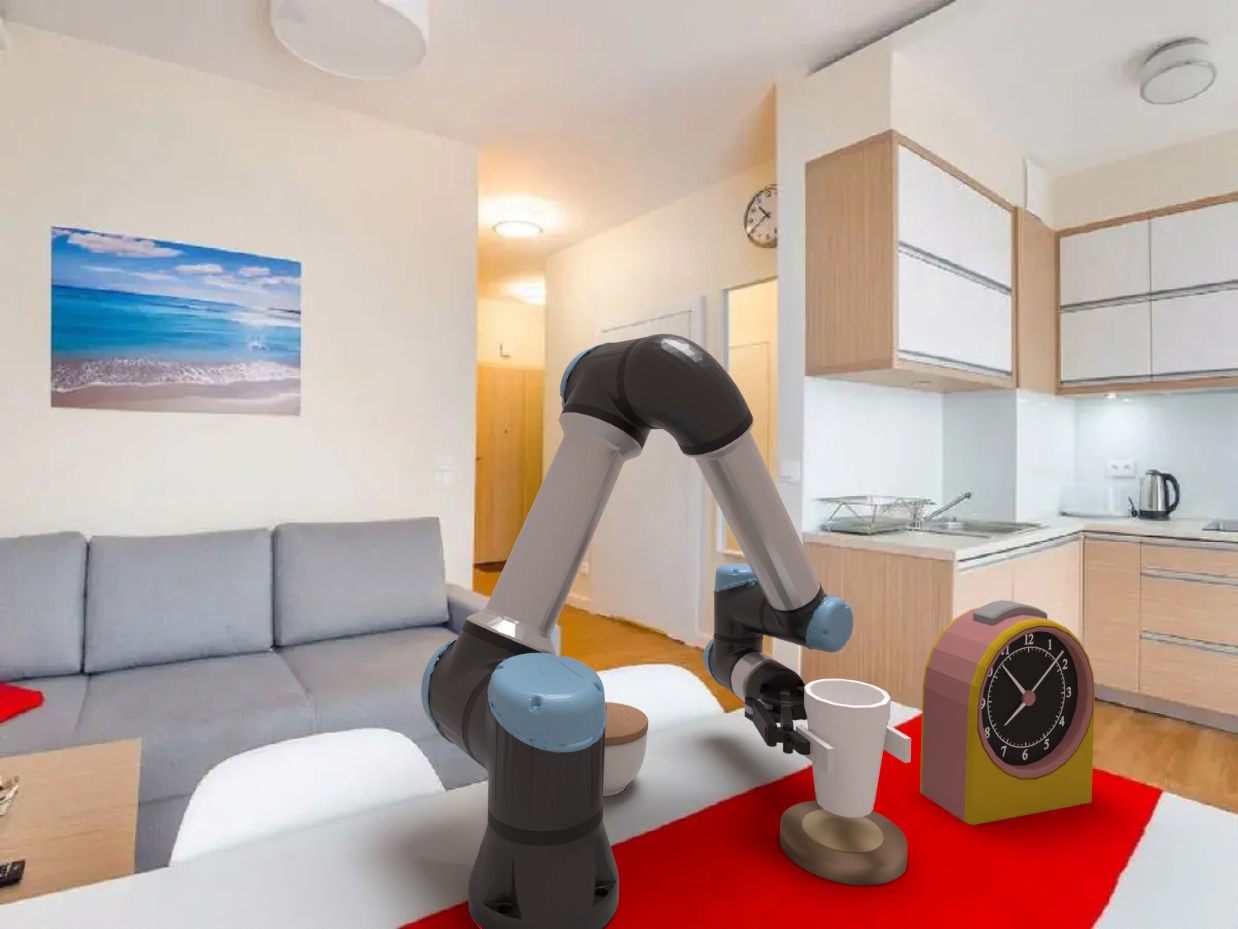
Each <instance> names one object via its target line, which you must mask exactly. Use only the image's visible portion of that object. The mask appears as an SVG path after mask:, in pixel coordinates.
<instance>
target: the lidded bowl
mask: <svg viewBox="0 0 1238 929" xmlns="http://www.w3.org/2000/svg"><path fill="white" fill-rule="evenodd" d="M605 706H606V712H607V721H606V729H605V760H604V790H603V798H604V796H605V797H611V796H616V795H618V793H619V794H621V793H622V792H624V791H625V790H626V789H627V787H628V785H629V784H630V783H632V781H633V780H634V779H635V778H636V777H637V776H638V773H639V772H640V771H641V768H642V766H643V764H644V760H645V756H646V749H647V740H648V739H647V738H648V730H649V718H648V716H647V715H646V713H644V712H643V711H642V710H640V709H638V708H637V707H635V706H631V705H628V704H624V703H618V702H612V701H611V702H610V701H605ZM626 786H627V787H626ZM625 788H626V789H625ZM624 789H625V790H624ZM621 791H622V792H621ZM620 792H621V793H620ZM615 794H616V795H615Z"/></svg>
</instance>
